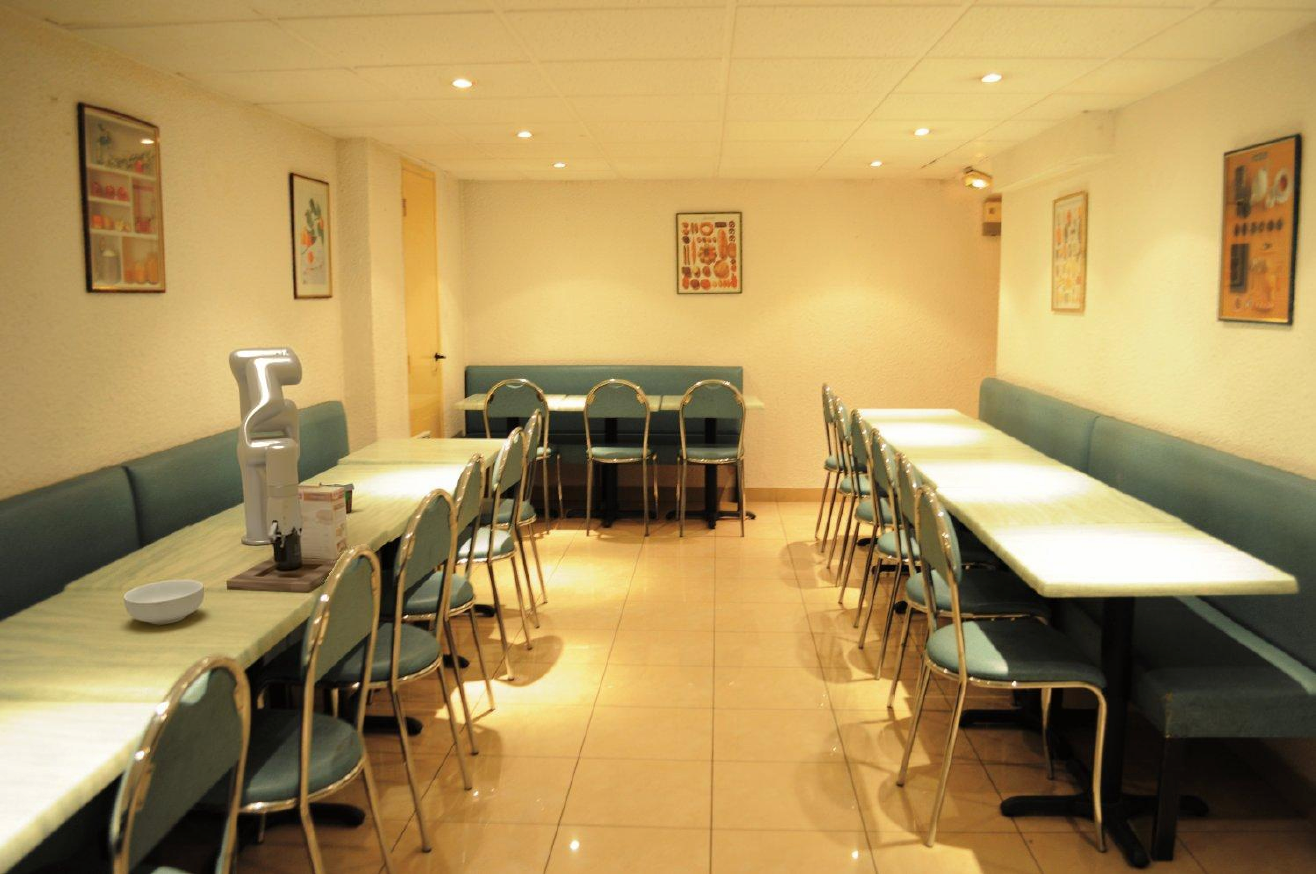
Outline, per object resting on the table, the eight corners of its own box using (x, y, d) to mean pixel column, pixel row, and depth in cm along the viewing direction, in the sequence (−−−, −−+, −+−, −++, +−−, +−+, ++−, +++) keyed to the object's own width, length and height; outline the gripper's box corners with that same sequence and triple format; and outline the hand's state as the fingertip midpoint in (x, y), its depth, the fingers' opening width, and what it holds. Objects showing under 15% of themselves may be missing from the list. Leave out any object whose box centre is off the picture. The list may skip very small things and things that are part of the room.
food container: (312, 515, 341) (310, 485, 340) (321, 511, 347) (319, 482, 346) (347, 516, 339) (345, 486, 338) (355, 512, 345) (354, 483, 344)
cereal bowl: (150, 607, 248) (147, 579, 247) (218, 607, 247) (216, 579, 246) (111, 631, 231) (108, 601, 230) (184, 631, 231) (181, 601, 229)
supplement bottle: (295, 563, 275) (292, 519, 273) (307, 568, 270) (304, 523, 268) (270, 568, 270) (267, 524, 268) (281, 574, 265) (278, 528, 263)
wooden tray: (272, 565, 283) (272, 557, 282) (348, 568, 279) (347, 560, 279) (227, 589, 261) (226, 580, 261) (308, 592, 258) (307, 584, 257)
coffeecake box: (349, 554, 294) (345, 486, 291) (335, 560, 287) (331, 491, 284) (303, 550, 298) (299, 484, 295) (288, 557, 291) (284, 489, 288)
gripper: (287, 483, 276) (291, 548, 279) (251, 497, 259) (256, 566, 262) (313, 484, 275) (317, 549, 277) (279, 498, 258) (284, 567, 260)
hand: (288, 557), depth 270 cm, fingers closed on supplement bottle, 6 cm apart
